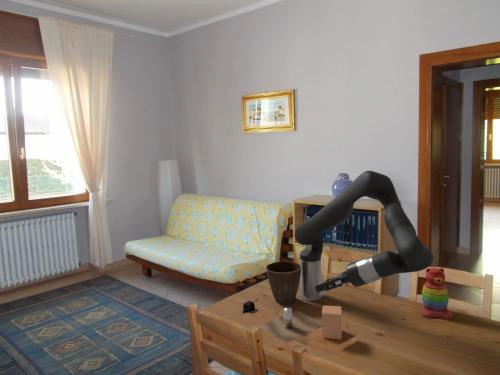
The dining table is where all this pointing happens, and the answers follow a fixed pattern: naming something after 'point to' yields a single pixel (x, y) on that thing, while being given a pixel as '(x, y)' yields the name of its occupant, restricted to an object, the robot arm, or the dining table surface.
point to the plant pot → (284, 280)
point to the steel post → (287, 317)
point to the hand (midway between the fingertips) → (321, 286)
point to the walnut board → (299, 326)
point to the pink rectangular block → (331, 322)
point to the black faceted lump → (248, 306)
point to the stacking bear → (435, 295)
